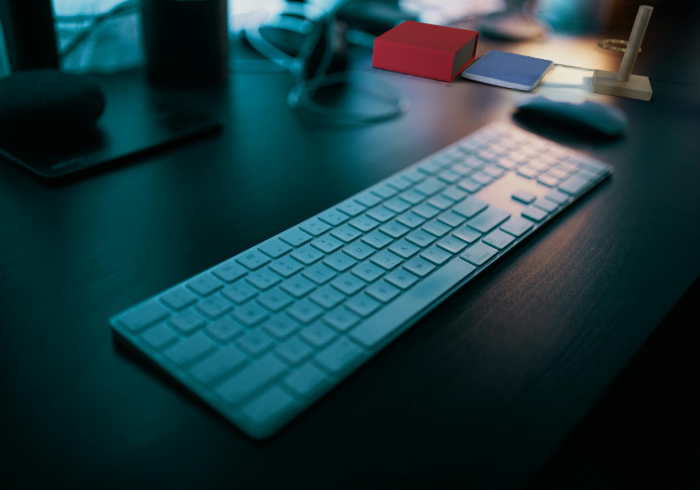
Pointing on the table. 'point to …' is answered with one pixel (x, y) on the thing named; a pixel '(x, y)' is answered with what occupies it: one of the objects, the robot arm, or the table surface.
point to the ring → (605, 46)
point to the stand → (627, 66)
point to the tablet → (509, 70)
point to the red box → (425, 50)
